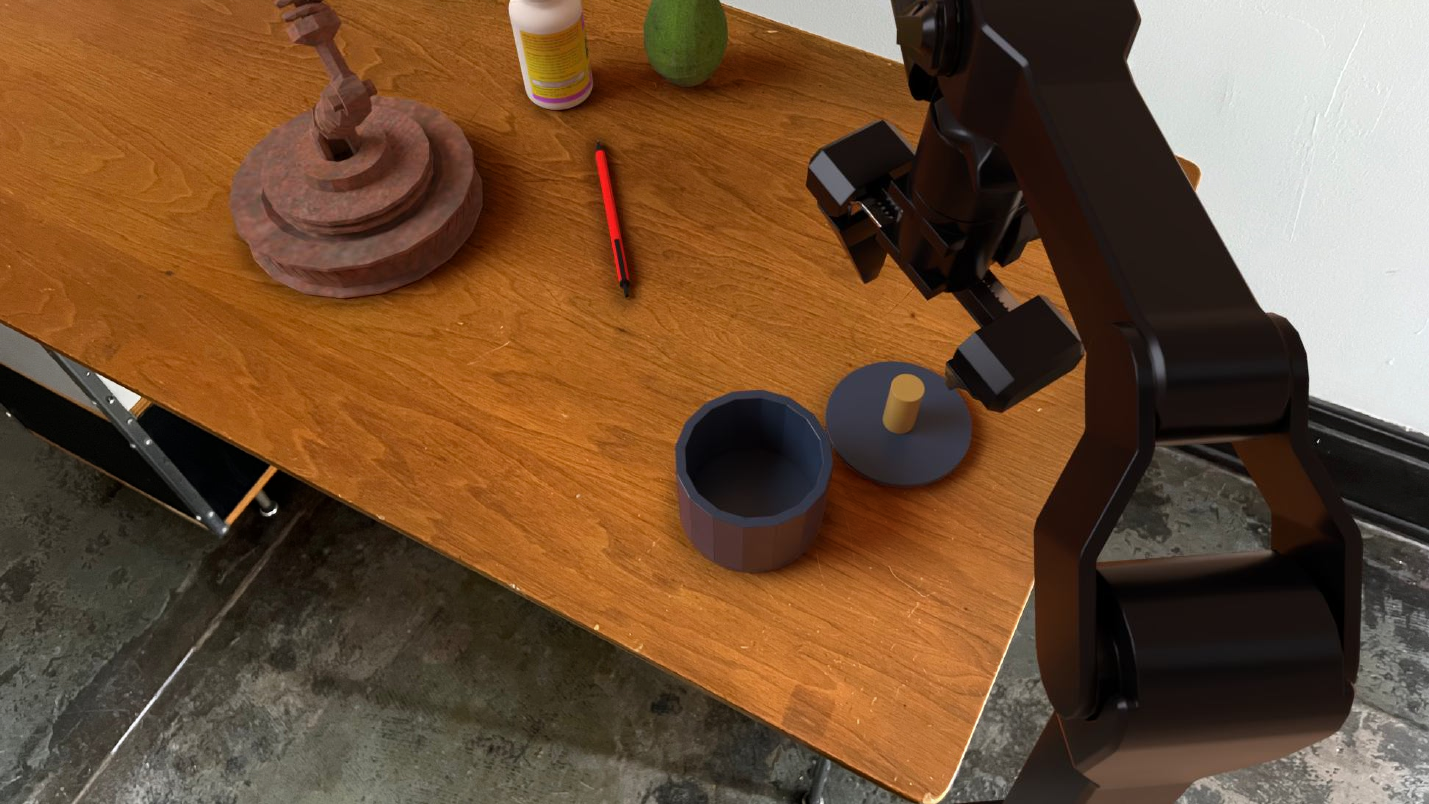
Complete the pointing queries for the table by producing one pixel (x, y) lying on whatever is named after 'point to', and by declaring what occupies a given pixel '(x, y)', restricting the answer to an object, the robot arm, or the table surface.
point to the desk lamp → (354, 182)
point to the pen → (612, 220)
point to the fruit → (685, 39)
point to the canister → (752, 479)
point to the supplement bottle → (552, 51)
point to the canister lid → (898, 424)
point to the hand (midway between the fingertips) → (910, 330)
